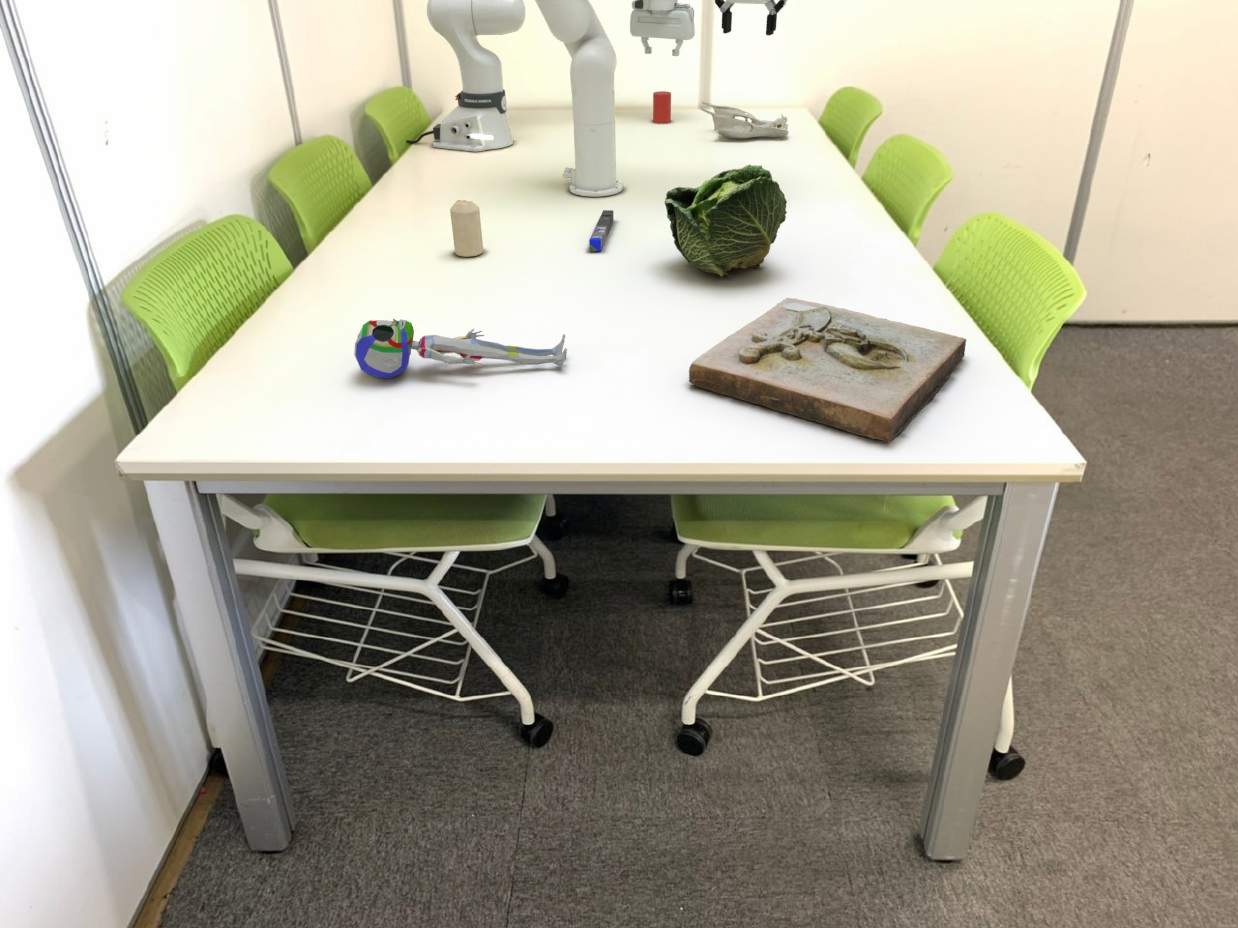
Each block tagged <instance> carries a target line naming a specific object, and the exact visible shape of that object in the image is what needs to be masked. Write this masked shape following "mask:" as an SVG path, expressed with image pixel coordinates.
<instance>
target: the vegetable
mask: <svg viewBox="0 0 1238 928" xmlns="http://www.w3.org/2000/svg"><path fill="white" fill-rule="evenodd" d="M665 196H666V197H665V199H664V205H665V208H666V209H665V210H666V218H667V219H668V221H669V222H670V224H669V228H670V231H671V236H672V238H673V239H674V240H673V243H674V245H675V247H676V249H677V250H678V252H680V255H681V256H682V257H683V258H684V259H685V261H686V262H687V263H688V264H689V263H691V264H692V265H693V266H694V267H695V268H696V269H699V270H700V271H702V272H704V273H708V274H714V275H715V274H716V275H718V276H719V277H721V278H723V277H724V276H730V274H729V273H728V272H729V271H732V270H734V269H740V268H742V269H747V268H748V267H754V268H756V267H757V268H760V266H761V264H763V263H764V261H765V258H766V257H767V256H768V255H769V253H770V250H771V245H772V244H774V243H775V241H776V239H777V236H778V235H777V234H778V231H779V229H780V227H781V225H782V224H783V223H784V222H786V218H787V216H786V214H787V213H788V211H787V203H788V201H787V199H786V196H785V194H784V192H783V191H782V189H781V188H780V184H779V183H778V181H777V180H774V179H773V176H772V173H771V171H770V170H768V169H765V168H763V165H755V164H754V165H751V164H748V165H745V166H743V167H742V168H732V169H729V170H723V171H721V172H720V173H718V174H716V175H714V176H713V177H711V178H709V179H707V180H704V181H703V182H702V184H701V185H700V186H698V187H684V186H677V187H674V188H672V189H670V190H668V191H667V192H666V194H665Z"/></svg>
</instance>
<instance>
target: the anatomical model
mask: <svg viewBox="0 0 1238 928" xmlns="http://www.w3.org/2000/svg"><path fill="white" fill-rule="evenodd" d="M701 105H705V106H708V107H711V108H712V109H713V111H714V112H711V111H710V110H708V109H706V108H704V107H700V110H701V111H703V112H704V113H707V114H709V115H710V116H711V117H712V122H713V127H714V128H713V130H714V131H717V132H718V134H719V135H720V136H726V137H728V138H731V139H737V140H739V139H740V140H741V139H750V138H754V137H775V138H781V137H787V136H788V135H789V125H788V124H787V122H788V118H787V116H784V115H783V114H781V117H778V118H776V119H775V120H764V119H759V118H757V117H756V116H754V115H753V114H752V113H750V112H749V111H745V110H743V109H740V108H738V107H737V108H736V107H732V106H728V105H717V104H713V103H710V102H707V101H701ZM736 117H737V118H736ZM739 117H741V118H743V119H739ZM748 119H749V120H750V121H751V122H750V121H749V120H748Z"/></svg>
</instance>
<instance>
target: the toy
mask: <svg viewBox="0 0 1238 928" xmlns="http://www.w3.org/2000/svg"><path fill="white" fill-rule="evenodd" d="M474 331H475V328H472V329H471V330H469V331H468V332H467V333H466V334H465V335H463V336H458V337H449V336H448V337H447V336H442V335H439V334H428V335H423V336H421V338H420V339H419V341H417V340H414V336H415V329H414V326H413V324H412V322H410V321H408V320H407V319H399V320H397V319H395V318H392V320H387V319H379V320H368V321H367V322H365V323H364V324H362V326H361V329H360V331H359V333H358V334H357V338H356V340H355V342H354V354H353V355H354V357H355V359H356V362H357V364H358V366H359V369H360V370H361V372H364V373H366V374H367V375H370V376H373V377H377V378H382V379H383V378H384V379H392V378H394V377H396V376H398V375H400V374H401V375H402V374H403V372H404V371H405V370H406V368H407V367H408V366H409V364H410V357H411V355H412V350H415V351H417V353H418V356H419V357H421V358H422V359H430V360H434V361H438V362H442V363H444V364H449V365H458V364H459V365H461V364H465V365H471V366H477V367H479V368H480V367H481V366H482V365H483V363H482V362H478V361H480V360H482V359H487V360H488V359H489V360H503V361H509V362H514V363H517V364H520V365H528V366H529V365H542V364H550V363H553V364H555V365H557V366H559V367H562V366H563V364H564V362H565V361H566V360H567V357H568V355H567V353H568V348H566V347H565V348H564V345H565V340H566V334H565V333H563V334H562V338H561V340H560V341H559V343H558V344H556V345H555V346H554V347H552V348H533V347H532V348H531V347H523V346H518V345H517V346H516V345H504V344H501V343H498V342H494V341H488V340H482V339H478V338H479V337H480V338H481V337H485V334H480V333H482V332H483V331H482V330H479V331H476V332H474ZM563 349H564V350H563ZM453 353H455V354H457V355H459V357H458V356H455V355H448V354H453ZM445 354H447V355H445Z"/></svg>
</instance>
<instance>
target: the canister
mask: <svg viewBox="0 0 1238 928" xmlns="http://www.w3.org/2000/svg"><path fill="white" fill-rule="evenodd" d="M671 121H672V92H671V91H665V90H659V91H654V92H653V93H652V122H653V123H654V124H669V123H671Z"/></svg>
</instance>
